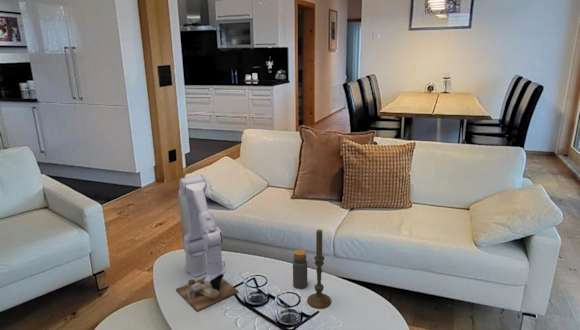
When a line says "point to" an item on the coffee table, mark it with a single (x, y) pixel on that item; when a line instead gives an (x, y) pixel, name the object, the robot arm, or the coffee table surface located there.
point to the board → (204, 301)
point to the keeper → (193, 289)
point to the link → (204, 290)
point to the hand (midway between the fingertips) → (216, 291)
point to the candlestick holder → (319, 278)
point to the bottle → (300, 269)
